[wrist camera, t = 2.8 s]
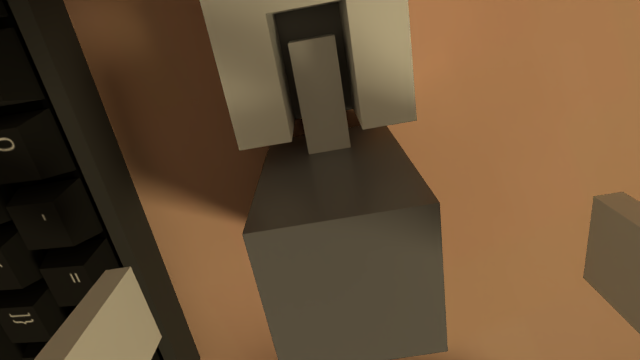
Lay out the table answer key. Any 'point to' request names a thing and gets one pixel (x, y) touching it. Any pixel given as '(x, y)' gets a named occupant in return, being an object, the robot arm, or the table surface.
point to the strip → (276, 68)
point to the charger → (344, 233)
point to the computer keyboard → (65, 191)
